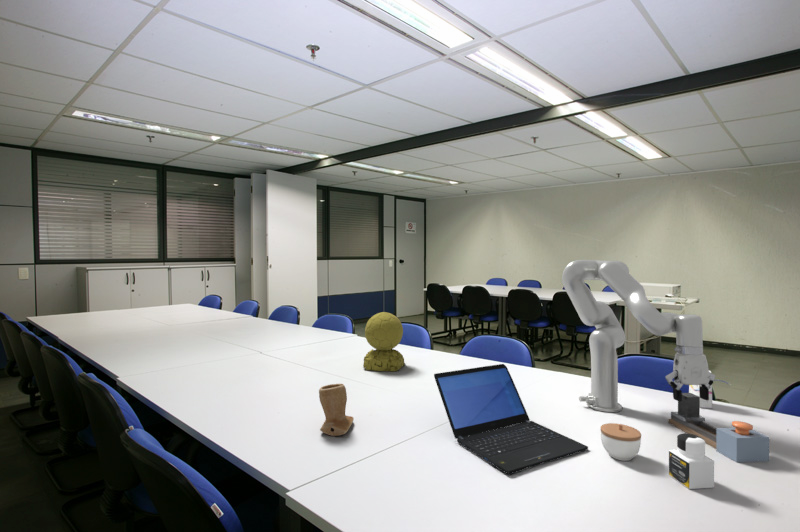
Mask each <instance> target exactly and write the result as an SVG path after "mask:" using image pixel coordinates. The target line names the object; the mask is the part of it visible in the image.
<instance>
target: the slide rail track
mask: <svg viewBox="0 0 800 532" xmlns="http://www.w3.org/2000/svg"><path fill="white" fill-rule="evenodd" d="M673 412H674V411H670V417H669V418H668V420H667V422H668V424H669V425H672V426H674V427H675V428H677V429H679V430H681V431H682V432H684V433H688V434H693V435H697V436H699V437H701V438H702V439H704V441H705V445H708V446H710V447H711V448H714V449H715V450H716V435H717V428H718V427H715V426H713V425H710V424H709V423H706V422H705V421H701V422H699V425H694V424H692V423H690V422H685V421H683V420H681V419H679V418H677V417H675V416H673Z"/></svg>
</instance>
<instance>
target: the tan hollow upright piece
mask: <svg viewBox="0 0 800 532" xmlns="http://www.w3.org/2000/svg"><path fill="white" fill-rule="evenodd" d="M347 394H348V393H347V388H346V386H345V385H344V383H331V384H327V385H322V386H321V387H320V388H319V389H318V395H319V396H318V397H319V402H320V405H321V408H322V411H323V413H324V417H325V420H324V422H323V423H322V425H321V427H320V428H319V431H320V432H322V433H324V434H326V435H328V436H330V437H331V436H332V437H338V436H342V435H345V434H347V432H348V431H349V430H350V428H351V426H352V425H353V422H354V417H353V416H351V415H350V416H349V415H346V409H347V408H346V407H347V401H348V396H347Z"/></svg>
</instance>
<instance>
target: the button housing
mask: <svg viewBox="0 0 800 532" xmlns="http://www.w3.org/2000/svg"><path fill="white" fill-rule="evenodd" d="M716 428H717V435H716V449H715V450H716V452H718V453H719V454H720V455H723V456H725V457H726V458H728V459H729V460H731V461H733V462H736V463H749V462H750V463H751V462H770V436H768V435H766V434H764V433H761V432H759V431H757V430H754V429H753V430H749V435H745V436H742V435H740V434H738V433H735V427H716Z"/></svg>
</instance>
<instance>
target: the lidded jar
mask: <svg viewBox="0 0 800 532" xmlns="http://www.w3.org/2000/svg"><path fill="white" fill-rule="evenodd" d="M600 439H601V443H602V446H603V448H604V450H605V451H606V452H607V453H608V456H610V457H611V458H613V459H615V460H617V461H623V462H624V461H625V462H626V461H631V460H632V459H634V458H635V457H636V456H637V455H638V453H639V451H640V448H641V444H642V443H641V442H642V433H641V432H640V431H639V430H638V429H637V428H635V427H633V426H629V425H626V424H622V423H614V422H613V423H612V422H611V423H610V422H609V423H605V424H602V425H600Z"/></svg>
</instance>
